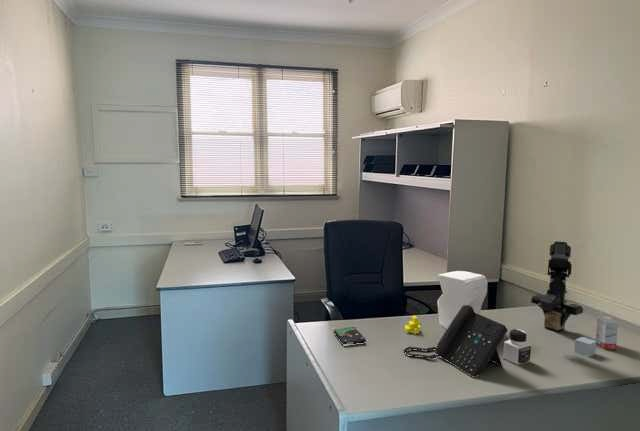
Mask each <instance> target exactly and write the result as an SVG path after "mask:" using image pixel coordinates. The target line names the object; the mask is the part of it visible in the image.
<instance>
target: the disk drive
mask: <svg viewBox="0 0 640 431" xmlns="http://www.w3.org/2000/svg"><path fill="white" fill-rule="evenodd" d="M334 333H335V334H336V336H337V337H338V338H339V339H340V341H341V342H342V343H343V344H356V343H364V342H366V343H367V339H366V338H365V337H364V336H363V334H362V333H361V332H360V331H359V330H358V329H357V328H356V327H355V326H351V327H349V326H348V327H343V328H334V329H333V334H334ZM336 336H335V337H336ZM337 337H336V338H337ZM340 341H339V342H340Z"/></svg>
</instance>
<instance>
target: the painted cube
mask: <svg viewBox="0 0 640 431" xmlns="http://www.w3.org/2000/svg"><path fill="white" fill-rule="evenodd" d="M596 350H597V342H596V341H595V340H594V339H590V338H587V337H584V336H581V337H578V338H576V339H575V341H574V353H575V354H578V355H581V356H584V357H587V358H590V357H591V356H595V355H596Z"/></svg>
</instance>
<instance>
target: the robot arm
mask: <svg viewBox="0 0 640 431" xmlns="http://www.w3.org/2000/svg"><path fill="white" fill-rule="evenodd" d="M571 254H572V247H571V246H570V245H568V243H567V242H566V241H554V243H552V244H550V246H549V256H550V259H548V266H547V276H550V278H549V283H548V284H549V286H548V289H547V290H546V294H545V295H542V294H535V295H533V296H531V298H530V302H531V304H535V305H537V307H538V308H540V309H541V310H542V312H543V315H544V316H545V313H547V312H551V311H555V312H558V313H561V327H563V326H564V324H565V325H566V322H567V321H568V320H569V319H568V318H570V316H571V315H572V316H577V315H580V314H583V312H584V308H583V307H582V305H580V304H576V303H571V304H566V303H567V299H565V298H566V294H567V292H568V290H567V278H570V275H572V265H573V264H572V263H571V261H570V260H569V259H570V258H571ZM543 327H544V329H546V330H549V331H551V332H555V333H560V332H563V331H565V330H566V328H563V329H560V330H555V329H552V328H549V327H546V326H543Z"/></svg>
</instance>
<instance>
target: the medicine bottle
mask: <svg viewBox="0 0 640 431" xmlns="http://www.w3.org/2000/svg"><path fill="white" fill-rule="evenodd" d="M531 352H532V345H531V344H530V343H528V342H527V332H526V331H524V330H522V329H519V328H517V329H516V328H515V329H511V330H510V331H509V339H508V340H505V341H503V356H502V358H503V359H504V358H505V360H506V359H507V360H506V361H508V360H509V361H508V362H510V361H511V362H510V363H512V362H513V364H514V363H515V365H516V364H517V365H516V366H521V365H524V364H527V363H530V362H531V355H532V354H531ZM523 363H524V364H523ZM520 364H521V365H520Z"/></svg>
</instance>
